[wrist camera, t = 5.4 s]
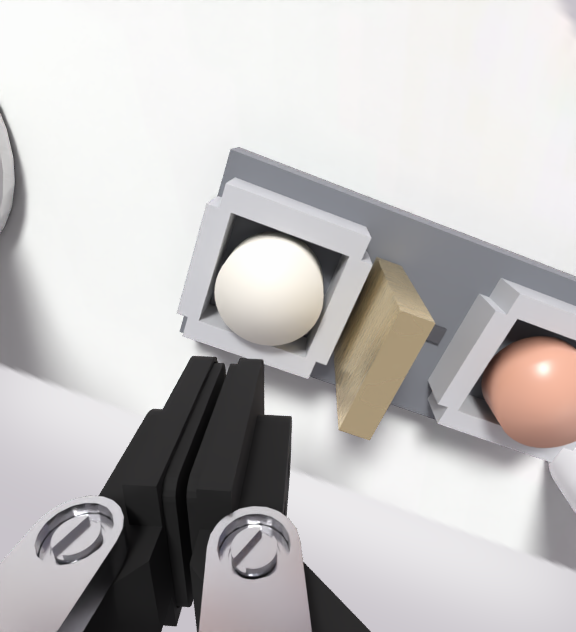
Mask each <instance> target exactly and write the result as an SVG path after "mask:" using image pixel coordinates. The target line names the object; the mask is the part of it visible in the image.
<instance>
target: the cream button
mask: <svg viewBox="0 0 576 632" xmlns="http://www.w3.org/2000/svg"><path fill="white" fill-rule="evenodd" d="M323 297H324V294H323V273H322V269H321V265H320V263H319V260H318V259H317V257H316V255H315V254H314V252H313V251H312V250H311V249H310V248H309V247H308V246H307V245H306V244H305V243H304V242H302V241H301V240H299V239H298V238H296V237H294V236H291V235H289V234H285V233H281V232H263V233H259V234H256V235H253V236H251V237H249V238H247V239H245V240H244V241H242V242H241V243H240V244H239V245H238V246H237V247H236V248H235V249H234V250H233V252H232V253H231V254H230V256H229V257H228V259H227V260H226V262H225V263H224V265H223V266H222V268H221V270H220V271H219V273H218V276H217V279H216V283H215V302H216V306H217V309H218V312H219V314H220V316H221V318H222V319H223V321H224V322H225V324H226V325H227V326H228V327H229V328H230V329H231V330H232V331H233V332H234V333H236V334H237V335H238V336H240V337H242V338H243V339H245V340H247V341H250V342H252V343H256V344H260V345H267V346H276V345H283V344H287V343H290V342H293V341H295V340H297V339H299V338H301V337H302V336H304V335H305V334H306V333H307V332H308V331H309V330H310V329H311V328H312V327H313V326H314V325H315V323H316V322H317V320H318V318H319V316H320V313H321V310H322V306H323Z"/></svg>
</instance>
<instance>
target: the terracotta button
mask: <svg viewBox="0 0 576 632" xmlns="http://www.w3.org/2000/svg"><path fill="white" fill-rule="evenodd" d="M481 388H482V393H483V396H484V399H485V401H486V402H487V404H488V406H489V407H490V409H491V410H492V412H493V414H494V415H495V417H496V419H497V420H498V422H499V424H500V425H501V427H502V428H503V430H504V431H505V433H506V434H507V435H508V436H509V437H511V438H512V439H513V440H515V441H517V442H518V443H521V444H523V445H526V446H530V447H536V448H553V447H559V446H563V445H567V444H570V443H573V442H575V441H576V349H575V348H574V347H573V346H572V345H571V344H569V343H567V342H566V341H563V340H561V339H558V338H555V337H549V336H534V337H528V338H524V339H521V340H518V341H516V342H513V343H511V344H509V345H508V346H506V347H505V348H503V349H502V350H500V351H499V352H498V353H497V354H496V355H495V356H494V357H493V358H492V359H491V360H490V362H489V363H488V365H487V366H486V368H485V370H484V373H483V376H482V382H481Z"/></svg>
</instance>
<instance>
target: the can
mask: <svg viewBox="0 0 576 632" xmlns="http://www.w3.org/2000/svg"><path fill="white" fill-rule="evenodd" d="M549 470H550V473H551V476H552V477H553V479H554V481H555V483H556V484H557V486H558V487H559V489H560V490H561V492H562V494H563V495H564V497H565V498H566V500H567V501H568V503H569V504H570V506H571V507H572V509H573V510H574V512H575V513H576V448H575V449H574V450H573V451H572V450H569V449H566V448H563V449H562V450H561V451H560V452H559V454H558V455H557V456H556V457H555V458H554V460H553V461H552V462H549Z"/></svg>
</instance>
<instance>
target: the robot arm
mask: <svg viewBox="0 0 576 632" xmlns="http://www.w3.org/2000/svg"><path fill="white" fill-rule="evenodd" d="M14 187H15V176H14V160H13V154H12V150H11V145H10V141H9V137H8V133H7V129H6V126H5V124H4V121H3V119H2V116H1V114H0V233H1V231H2V230H3V228H4V227H5V224H6V221H7V219H8V216H9V213H10V210H11V208H12V202H13V194H14ZM291 432H292V417H291V416H275V415H264V361H263V359H246V358H240V359H239V362H238V364H230V366H229V369H228V372H227V375H226V369H225V364H224V363H218V361H217V358H216V357H204V356H192V357H191V358H190V360H189V362H188V364H187V366H186V368H185V369H184V371H183V373H182V375H181V377H180V378H179V380H178V382H177V384H176V386H175V388H174V389H173V391H172V393H171V395H170V397H169V399H168V400H167V402H166V404H165V406H164V408H163V409H152V410H150V411H149V412H148V414H147V415H146V417H145V418H144V420H143V422H142V424H141V425H140V427H139V429H138V430H137V432H136V434H135V435H134V437H133V439H132V441H131V442H130V444H129V446H128V447H127V449H126V451H125V452H124V454H123V456H122V457H121V459H120V461H119V462H118V464H117V466H116V468H115V469H114V471H113V473H112V474H111V476H110V478H109V480H108V481H107V483H106V484H105V486H104V488H103V489H102V491H101V493H100V495H99V496H86V497H80V498H75V499H73V500H70V501H68V502H65V503H63V504H60V505H59V506H57V507H56V508H54V509H52V510H51V511H49V512H48V513H46V515H44V516H43V517H42V518H41V519H40V520H39V521H38V522H36V523H35V525H34V526H33V527H32V528H31V529H30V530H29V531H28V532H27V534H26V535H25V536H24V537H23V538H22V539H21V540H20V541H19V543H18V544H17V545H16V546H15V547H14V548H13V549H12V550H11V552H10V553H9V554H8V555H7V556H6V557H5V558H4V559H3V560H2V562H1V563H0V632H161V631H162V627H163V625H165V626H177V623H178V619H179V615H180V612H181V608H182V607H190V606H191V605H192V602H193V599H194V608H195V616H196V626H197V632H370V631H369V629H368V628H367V627H366V626H365V625H364V624H363V623H362V622H361V621H360V620H359V619H358V618H357V617H356V616H355V615H354V614H353V613H352V612H351V611H350V610H349V609H348V608H347V607H346V606H345V605H344V604H343V602H342V601H341V600H340V599H339V598H338V597H337V596H336V595H335V594H334V593H333V592H332V591H331V590H330V589H329V588H328V587H327V586H326V585H325V584H324V583H323V582H322V581H321V580H320V579H319V578H318V577H317V576H316V575H315V573H313V571H312V570H311V569H309V567H307V565H306V564H305V563H304V562H303V558H302V550H301V542H300V538H299V535H298V532H297V529H296V528H295V526H294V525H293V523H292V522H291V521H290V519H289V518H287V517H286V515H287V503H288V490H289V477H290V460H291Z"/></svg>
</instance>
